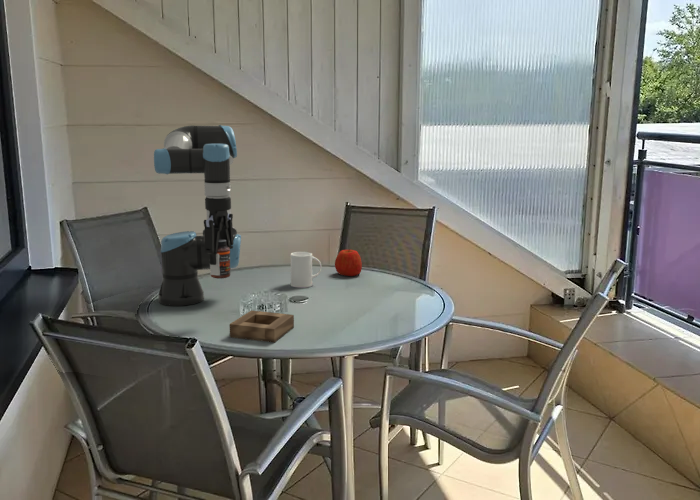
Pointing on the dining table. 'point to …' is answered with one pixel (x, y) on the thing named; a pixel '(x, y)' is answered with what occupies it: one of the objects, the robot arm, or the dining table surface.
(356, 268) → the apple
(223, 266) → the supplement bottle
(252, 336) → the holder block
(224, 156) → the robot arm
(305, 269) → the mug
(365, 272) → the dining table surface
